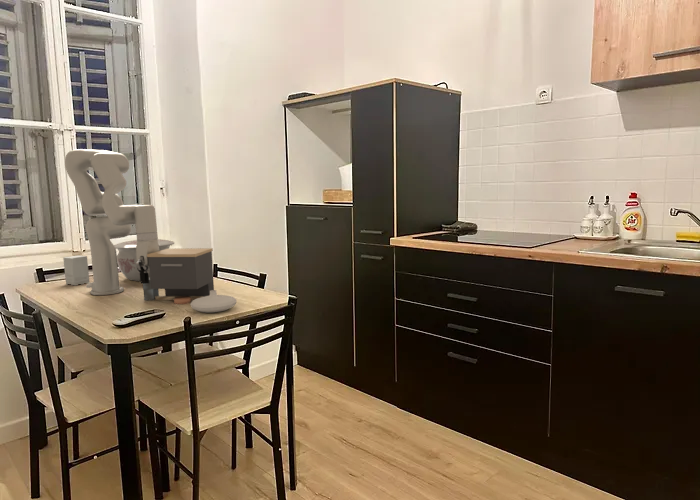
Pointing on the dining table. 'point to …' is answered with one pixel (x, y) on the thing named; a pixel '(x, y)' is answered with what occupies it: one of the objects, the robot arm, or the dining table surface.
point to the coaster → (182, 300)
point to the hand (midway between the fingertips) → (151, 280)
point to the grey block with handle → (154, 294)
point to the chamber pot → (134, 257)
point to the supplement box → (76, 270)
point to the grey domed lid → (213, 303)
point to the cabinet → (182, 271)
